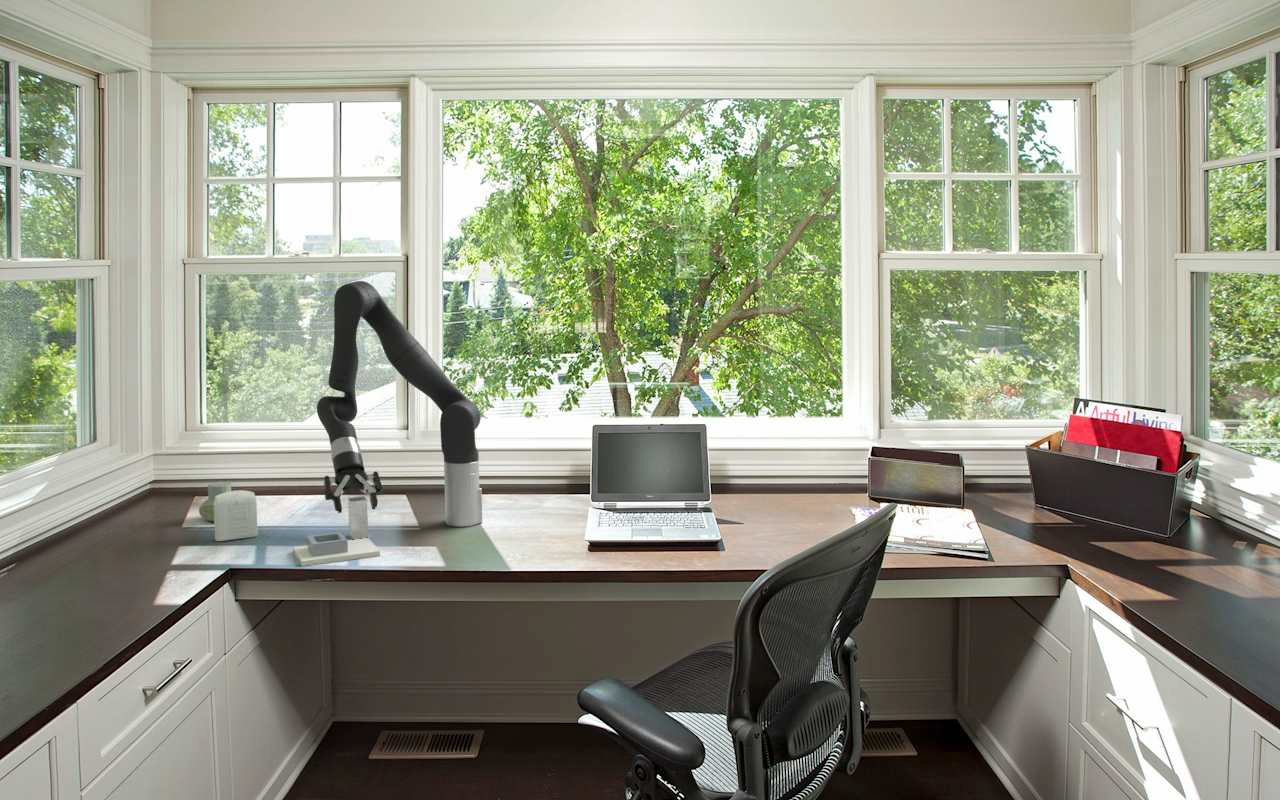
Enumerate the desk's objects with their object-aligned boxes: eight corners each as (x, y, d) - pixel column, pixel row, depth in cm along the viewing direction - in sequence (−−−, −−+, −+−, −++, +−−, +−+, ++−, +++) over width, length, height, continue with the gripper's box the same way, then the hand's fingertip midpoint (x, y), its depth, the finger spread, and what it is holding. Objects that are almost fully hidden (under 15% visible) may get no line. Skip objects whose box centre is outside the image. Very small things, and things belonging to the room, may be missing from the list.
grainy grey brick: (365, 533, 252) (363, 496, 251) (368, 537, 249) (366, 499, 247) (349, 535, 250) (347, 498, 249) (352, 539, 247) (350, 501, 245)
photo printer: (256, 533, 252) (253, 487, 251) (259, 537, 249) (257, 490, 247) (213, 539, 247) (211, 491, 245) (217, 543, 243) (214, 495, 242)
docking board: (368, 542, 244) (367, 526, 244) (379, 555, 233) (379, 538, 232) (293, 551, 236) (292, 535, 235) (301, 566, 224) (300, 548, 224)
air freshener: (194, 522, 264) (191, 486, 262) (214, 514, 272) (212, 479, 270) (228, 524, 261) (226, 488, 260) (248, 517, 269) (246, 481, 268)
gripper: (320, 452, 251) (330, 504, 243) (376, 447, 258) (387, 498, 249) (317, 468, 257) (327, 520, 248) (372, 463, 263) (383, 514, 255)
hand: (357, 509), depth 249 cm, fingers open, 8 cm apart
